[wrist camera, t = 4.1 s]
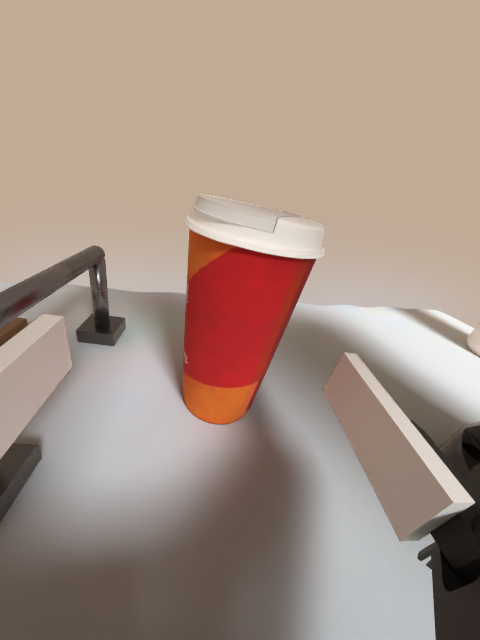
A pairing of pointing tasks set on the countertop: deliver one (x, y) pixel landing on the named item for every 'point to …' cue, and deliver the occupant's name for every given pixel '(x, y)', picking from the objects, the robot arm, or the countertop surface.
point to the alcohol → (474, 340)
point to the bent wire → (21, 459)
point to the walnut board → (12, 329)
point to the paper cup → (239, 298)
